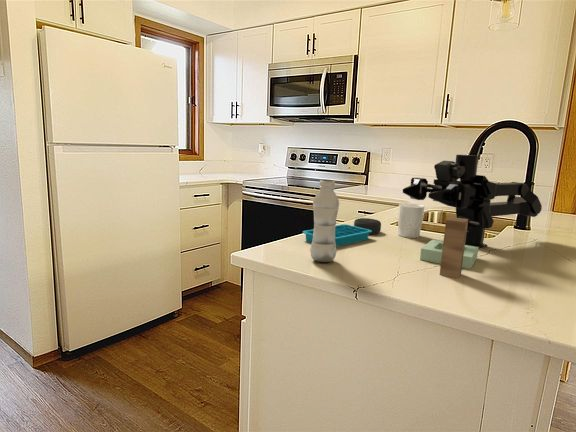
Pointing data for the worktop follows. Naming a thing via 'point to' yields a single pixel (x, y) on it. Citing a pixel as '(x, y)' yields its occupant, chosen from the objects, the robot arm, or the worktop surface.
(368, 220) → the smart speaker
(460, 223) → the brown square peg
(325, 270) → the worktop surface
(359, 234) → the ice cube tray
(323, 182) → the plastic bottle
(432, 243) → the green square hole base
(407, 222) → the white cup
